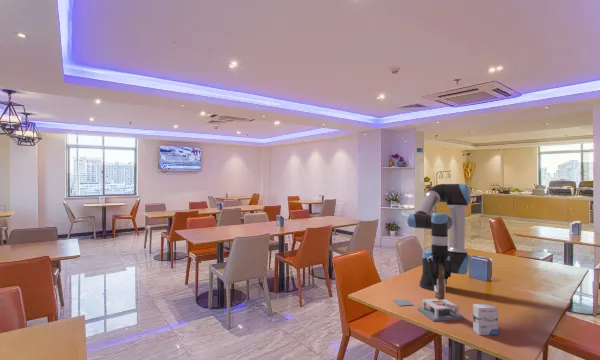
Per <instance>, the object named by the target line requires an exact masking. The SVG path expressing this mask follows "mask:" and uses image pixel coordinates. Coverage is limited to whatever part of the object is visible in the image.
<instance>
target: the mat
mask: <svg viewBox="0 0 600 360" xmlns="http://www.w3.org/2000/svg"><path fill="white" fill-rule="evenodd" d="M392 301H393V302H394V303H395V304H396V305H397V306H399V307H407V306H408V307H409V306H414V303H412V302H411V301H409V299H408V298H405V299H404V298H403V299H393V300H392Z"/></svg>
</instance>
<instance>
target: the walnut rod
mask: <svg viewBox="0 0 600 360" xmlns="http://www.w3.org/2000/svg"><path fill="white" fill-rule="evenodd" d="M437 279H439V293H437V292H435V291H434V292H435V298H434V299H438V300H444V299H445V292H444V267H443V266H439V267H438V275H437Z"/></svg>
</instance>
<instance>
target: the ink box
mask: <svg viewBox="0 0 600 360" xmlns="http://www.w3.org/2000/svg"><path fill="white" fill-rule="evenodd" d="M498 313H499V311H498V307H496V306H495V305H494V304H491V303H476V304H475V303H472V331H473V332H475V333H476V334H477V335H478V336H493V335H494V336H495V335H499V320H498V319H499V317H498V315H499V314H498Z"/></svg>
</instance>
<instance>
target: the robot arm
mask: <svg viewBox="0 0 600 360" xmlns="http://www.w3.org/2000/svg"><path fill="white" fill-rule="evenodd" d="M471 199H472V198H471V191H470V187H469V186H468V184H465V183H440V184H436V185H434V186H432V187H430V188H429V189H428V190H426V191H425V193H424V194H423V200H422V201H421V203H420V205H419V206H418V208H417V210H416V211H415V213H409V214H408V215H407V221H406V222H407V226H408V227H409V228H415V229H428V230H431V231H430V232H431V247H430V248H428V249H425V250H423V251H422V255H421V256H422V257H421V259H422V260H421V262H422V265H421V266H422V274H421V276H420V280H419V287H420V288H422V289H426V290H429V291H434V292H437V293H439V279H437V275H438V267H439V266H443V267H444V293H446V291H447V290H446V287H447V284H448V281H447V280H448V279H449V278H451V275H452V274H457V275H467V273H468V272H469V269H470V265H471V264H470V263H471V256H470V255H469V254H468V251H467V250H466V249H465V245H466V244H465V241H466V240H465V238H466V237H465V236H466V235H465V234H466V233H465V231H466V230H465V229H466V227H465V226H466V223H465V222H466V218H465V217H466V216H465V215H466V210H465V209H466V208H468V207H469V206H468V205H469V204H471V202H472V201H471ZM439 203H445V204H446V206H447V207H448V211H449V213H448V214H449V215H448V214H447V213H445V212H433V211H434V209H435V208H436V207H435V206H437V205H438V204H439ZM432 212H433V213H432Z"/></svg>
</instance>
